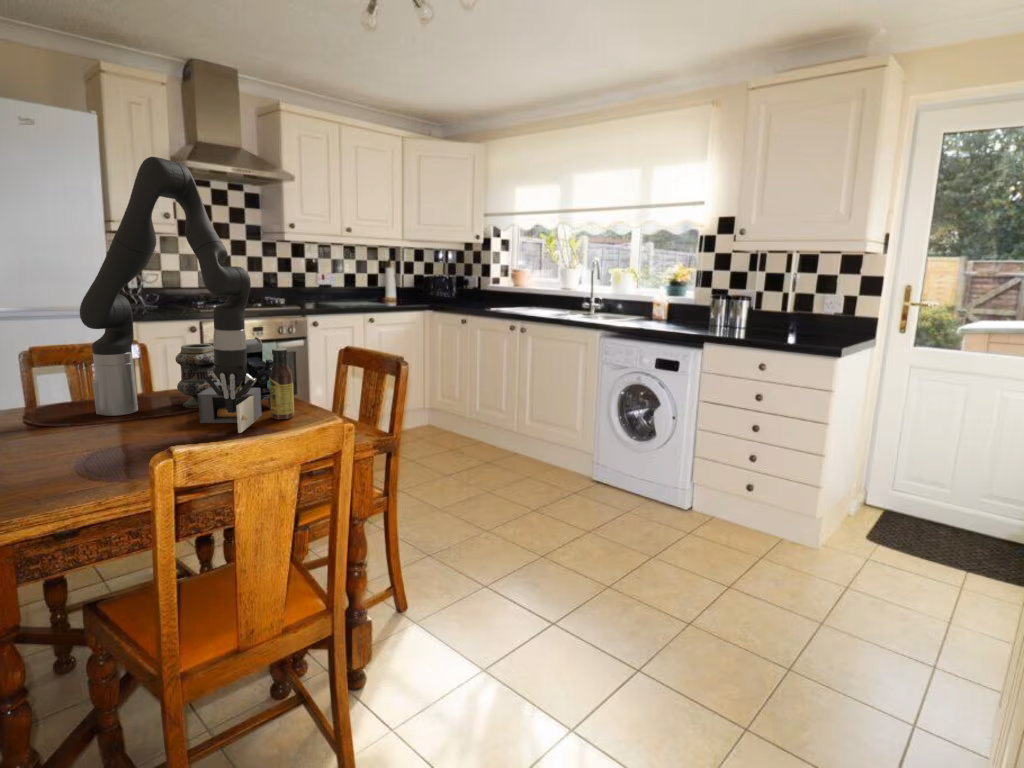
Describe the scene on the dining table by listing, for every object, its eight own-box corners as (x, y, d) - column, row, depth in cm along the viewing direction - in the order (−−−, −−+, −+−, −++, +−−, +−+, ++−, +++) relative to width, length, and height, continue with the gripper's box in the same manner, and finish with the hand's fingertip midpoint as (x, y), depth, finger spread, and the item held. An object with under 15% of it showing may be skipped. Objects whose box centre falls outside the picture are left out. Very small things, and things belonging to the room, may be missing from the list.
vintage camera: (257, 413, 177) (255, 346, 173) (229, 403, 186) (227, 338, 182) (286, 408, 185) (285, 343, 180) (258, 398, 194) (257, 336, 189)
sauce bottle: (270, 415, 174) (266, 347, 170) (293, 413, 177) (290, 346, 172) (271, 421, 168) (267, 350, 164) (295, 419, 171) (292, 349, 166)
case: (200, 423, 165) (197, 394, 163) (210, 415, 173) (208, 387, 171) (254, 422, 167) (252, 394, 165) (261, 414, 175) (260, 387, 173)
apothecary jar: (230, 399, 191) (225, 342, 187) (212, 409, 179) (208, 348, 175) (190, 398, 190) (185, 341, 186) (170, 408, 178) (165, 348, 174)
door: (245, 433, 156) (243, 405, 155) (237, 432, 156) (235, 405, 154) (259, 421, 167) (257, 396, 165) (251, 421, 166) (250, 395, 165)
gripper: (262, 346, 158) (263, 410, 161) (212, 342, 158) (214, 406, 162) (249, 350, 150) (250, 418, 154) (196, 346, 151) (199, 414, 155)
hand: (232, 411), depth 158 cm, fingers closed
